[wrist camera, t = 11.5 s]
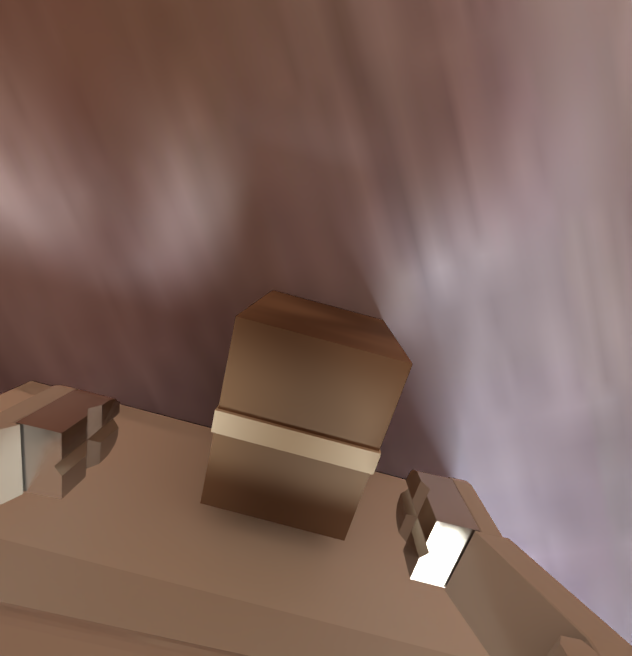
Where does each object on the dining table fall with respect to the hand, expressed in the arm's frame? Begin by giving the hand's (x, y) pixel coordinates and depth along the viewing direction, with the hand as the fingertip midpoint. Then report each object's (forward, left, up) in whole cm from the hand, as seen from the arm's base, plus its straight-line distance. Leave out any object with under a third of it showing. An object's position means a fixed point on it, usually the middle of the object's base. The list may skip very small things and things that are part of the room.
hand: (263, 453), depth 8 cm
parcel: (-1, -1, -5) cm, 5 cm away
